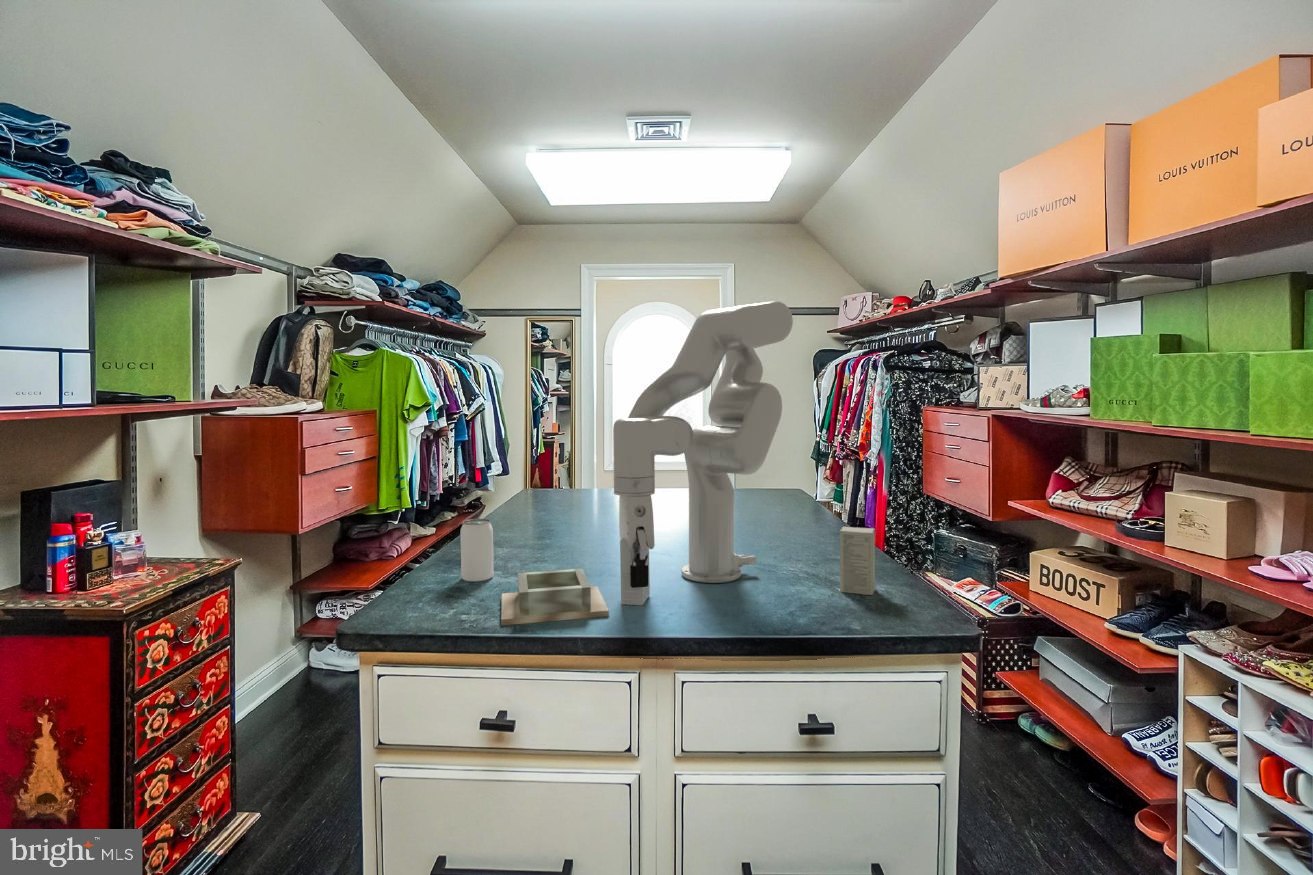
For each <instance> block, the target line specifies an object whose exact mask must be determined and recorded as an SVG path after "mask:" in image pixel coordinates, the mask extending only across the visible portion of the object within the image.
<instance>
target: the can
mask: <svg viewBox="0 0 1313 875" xmlns="http://www.w3.org/2000/svg"><path fill="white" fill-rule="evenodd" d="M461 523H462V526H460V527H461V528H460V531H459V532H460V566H461V568H460V569H461V573H460V574H461V579H462V580H463V581H464V582H467V583H481V582H486V581H489V580H491V579H492V578H493V576H494V574H495V573H494V533H493V532H494V529H493V526H492V524H491V519H487V518H471V519H466V520H464V521H462V522H461Z"/></svg>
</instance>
